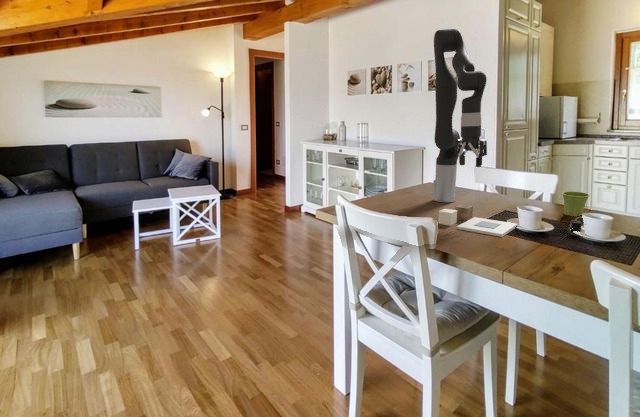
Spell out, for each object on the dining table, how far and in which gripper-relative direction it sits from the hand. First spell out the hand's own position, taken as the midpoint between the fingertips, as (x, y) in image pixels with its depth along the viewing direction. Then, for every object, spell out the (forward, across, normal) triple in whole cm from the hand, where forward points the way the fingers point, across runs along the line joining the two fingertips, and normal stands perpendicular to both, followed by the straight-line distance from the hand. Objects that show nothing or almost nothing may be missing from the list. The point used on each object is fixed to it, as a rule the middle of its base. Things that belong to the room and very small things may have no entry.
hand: (470, 165), depth 168 cm
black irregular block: (+22, +36, +12) cm, 44 cm away
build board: (+20, +17, -9) cm, 28 cm away
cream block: (+20, +5, -17) cm, 26 cm away
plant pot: (+22, +22, +34) cm, 46 cm away
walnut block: (+20, +3, -7) cm, 21 cm away
